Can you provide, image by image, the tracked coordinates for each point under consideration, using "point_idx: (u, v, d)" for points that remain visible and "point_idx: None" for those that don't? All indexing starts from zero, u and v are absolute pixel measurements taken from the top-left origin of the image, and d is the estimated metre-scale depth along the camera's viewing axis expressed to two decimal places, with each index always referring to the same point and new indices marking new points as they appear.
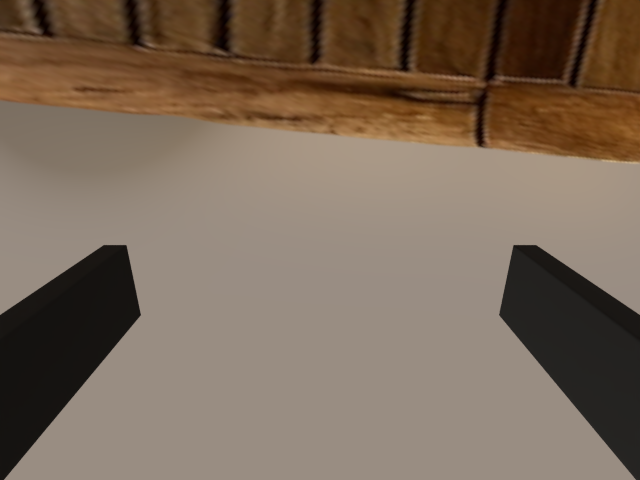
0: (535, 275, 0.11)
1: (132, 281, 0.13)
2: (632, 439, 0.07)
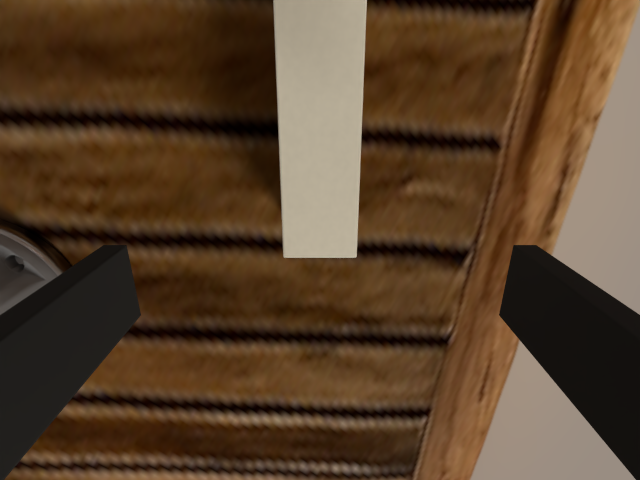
0: (536, 275, 0.11)
1: (132, 280, 0.13)
2: (632, 439, 0.07)
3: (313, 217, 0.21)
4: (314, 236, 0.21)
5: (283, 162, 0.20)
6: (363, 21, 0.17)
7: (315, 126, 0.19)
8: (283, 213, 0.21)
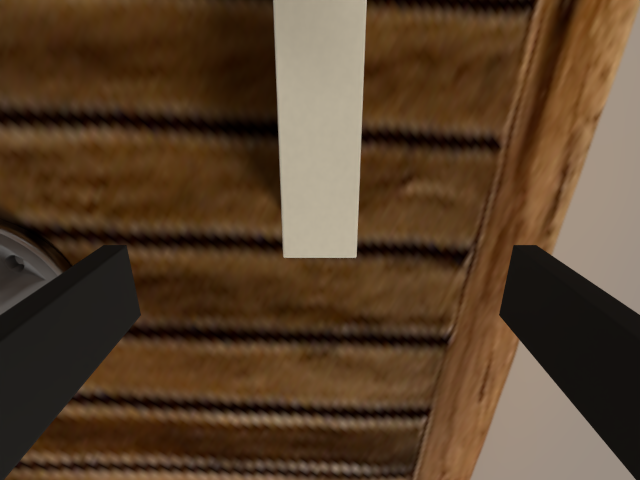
0: (536, 275, 0.11)
1: (132, 280, 0.13)
2: (632, 439, 0.07)
3: (313, 217, 0.21)
4: (314, 236, 0.21)
5: (283, 162, 0.20)
6: (363, 21, 0.17)
7: (315, 126, 0.19)
8: (283, 213, 0.21)
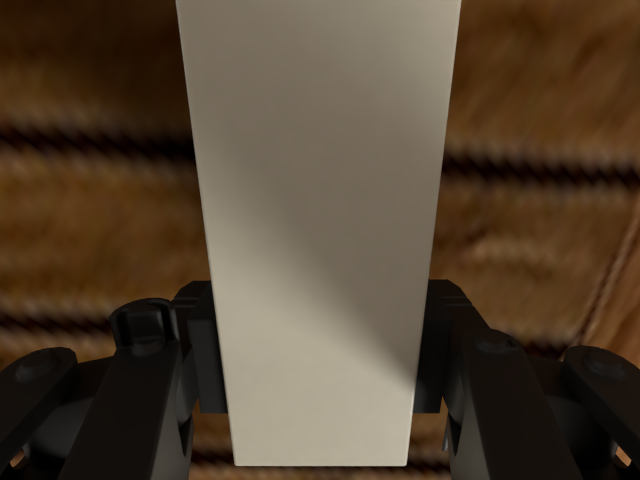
0: None
1: None
2: None
3: (304, 389, 0.08)
4: (306, 427, 0.09)
5: (218, 265, 0.07)
6: None
7: (305, 171, 0.06)
8: (227, 381, 0.08)
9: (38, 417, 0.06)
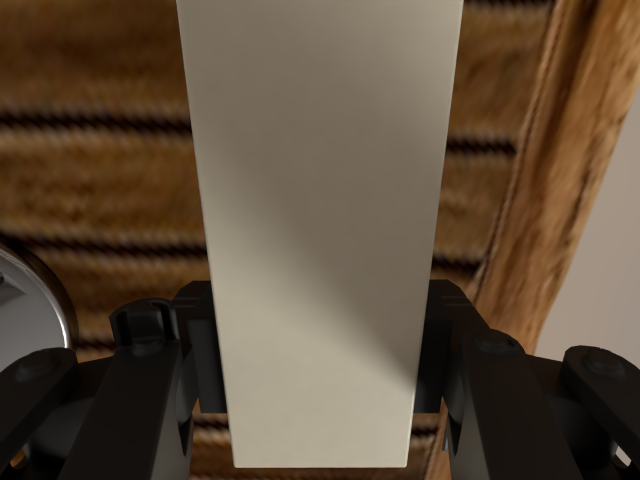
0: None
1: None
2: None
3: (305, 390, 0.08)
4: (306, 429, 0.09)
5: (218, 266, 0.07)
6: None
7: (306, 171, 0.06)
8: (227, 382, 0.08)
9: (38, 417, 0.06)
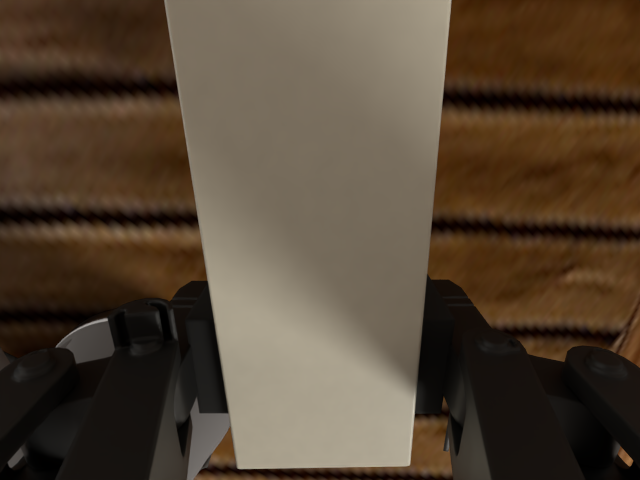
0: None
1: None
2: None
3: (304, 390, 0.08)
4: (307, 429, 0.09)
5: (215, 267, 0.07)
6: None
7: (299, 170, 0.06)
8: (227, 383, 0.08)
9: (36, 417, 0.06)
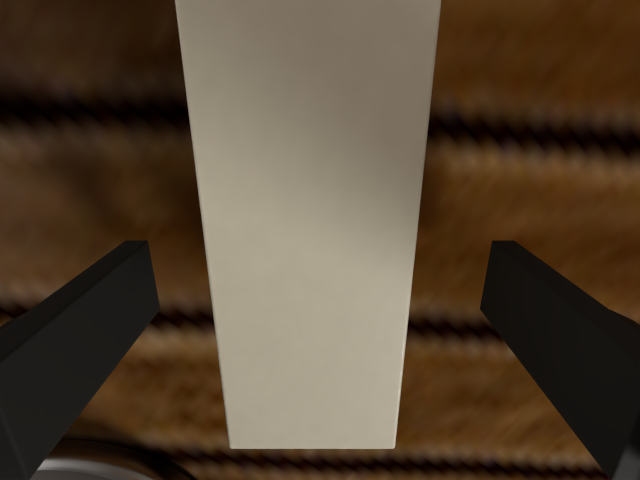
0: (511, 269, 0.11)
1: (152, 275, 0.13)
2: (593, 423, 0.08)
3: (296, 372, 0.09)
4: (298, 411, 0.09)
5: (214, 252, 0.08)
6: None
7: (296, 162, 0.07)
8: (223, 364, 0.09)
9: None
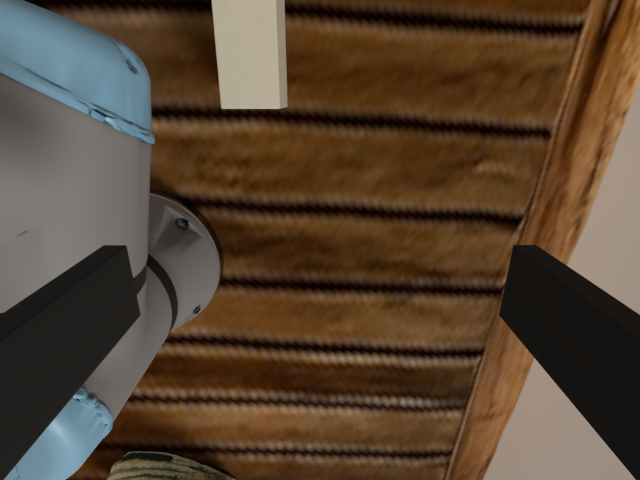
0: (536, 275, 0.11)
1: (132, 280, 0.13)
2: (632, 439, 0.07)
3: (243, 71, 0.26)
4: (244, 89, 0.27)
5: (216, 21, 0.25)
6: None
7: None
8: (218, 67, 0.26)
9: None
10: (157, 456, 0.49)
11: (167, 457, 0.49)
